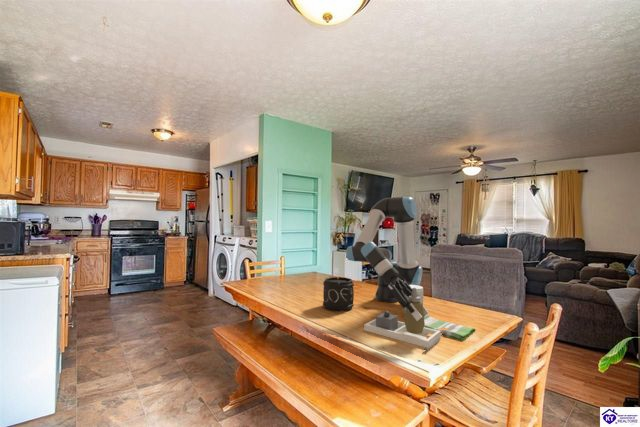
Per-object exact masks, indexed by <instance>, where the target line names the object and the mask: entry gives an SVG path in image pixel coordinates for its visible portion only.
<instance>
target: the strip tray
mask: <svg viewBox="0 0 640 427" xmlns="http://www.w3.org/2000/svg"><path fill="white" fill-rule="evenodd" d="M363 330H364V331H366V332H370V333H372V334H377V335H380V336H384V337H388V338H390V339H394V340H398V341H400V342H404V343H409V344H412V345H415V346H418V347H419V346H420V347H422V348H423V350H424V351H430V349H432V348H433V347H434V346H435V345H436V344H437V343H439V342H440V341H441V333H440V331H438V330H433V329H429V328H425V327H424V328H423V331H422V333H421V334H412V333H409V332H408V331H407V329H406V326H405V323H404V321H399V320H398V329H397V330H395V331H391V330H387V329H383V328H380V327H376V318H375V319H372V320H371V321H368V322H366V323H364V327H363Z"/></svg>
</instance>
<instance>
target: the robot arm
mask: <svg viewBox="0 0 640 427" xmlns="http://www.w3.org/2000/svg"><path fill="white" fill-rule="evenodd" d="M417 216H418V205H417V203H416V200H415V199H414V198H413V197H411V196H400V197H395V196H394V197H385V198H383V199H381V200H378V202H376V203H375V204H374V205H373V206H372V207H371V209H370V211H369V213H368V218H367V220H366V222H365V224H364V226H363V228H362V230H361V232H360V234H359V235H358V237H357V239H356V241H355V242H354V243H355V244H354V245H350V246H347V247H346V251H345V256H346V258H347V260H348V261H351V262H362V263H369V265H370V266H371V267H372V268H373V270H374V271H375V273H376V274H377V278H378V279H377V282H378V283H377V288H376V292H375V295H374V296H375V298H374V299H375V300H376V301H378V302H384V303H399V305H400V306H401V307H402V308H403V309H404V308H405V307H406V308H407V309H408V310H409V311H410V313H411V314H412V315H413V317H414V318H415V319H416V320H417V321H418V320H419V319H421V318H422V316H421V314H420V313H419V312H418V311H417V309H416V308H415V307H414V306H413V304H412V303H411V304H410V302H409V301H408V299H407V297H408V298H409V296H411V295H412V291H413V289H412V288H411V287H410V286H409V285H418V286H420V284H421V282H422V277H423V272H424V271H423V267H422V266H419V262H418V261H417V260H416V252H415V243H414V242H415V239H414V229H413V222H414V221H415V218H417ZM388 218H390V219H391V218H393V222H394V224H396V229H397V231H396V232H397V239H398V249H399V258H400V261H399V262H397V261H392V258H393V253H392V252H391V250H390V249H388V248H386V247H379V246H377V244H375V242H374V241H373V240H374V239H375V237H376V234H377V233H378V231H379V228H380V226H381V223H383V222H384V221H385V219H388ZM406 296H407V297H406ZM429 312H430V311H428V310H427V308H426V307H425V305H423V313H424V317H425V316H426V315H429V314H430V313H429Z"/></svg>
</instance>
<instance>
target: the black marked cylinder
mask: <svg viewBox="0 0 640 427" xmlns="http://www.w3.org/2000/svg"><path fill="white" fill-rule="evenodd" d="M322 284H323V301H322V306H323V307H324V309H325V310H327V311H329V312H339V313H340V312H349V311H350V310H353V307H354V305H355V304H354V297H355V296H354V295H355V294H354V292H355V291H354V286H355V284H354V281H353V280H352V278H349V277H342V276H341V277H340V276H339V277H337V276H332V277H331V276H330V277H326V278H325V279H324V281H323V283H322Z"/></svg>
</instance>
